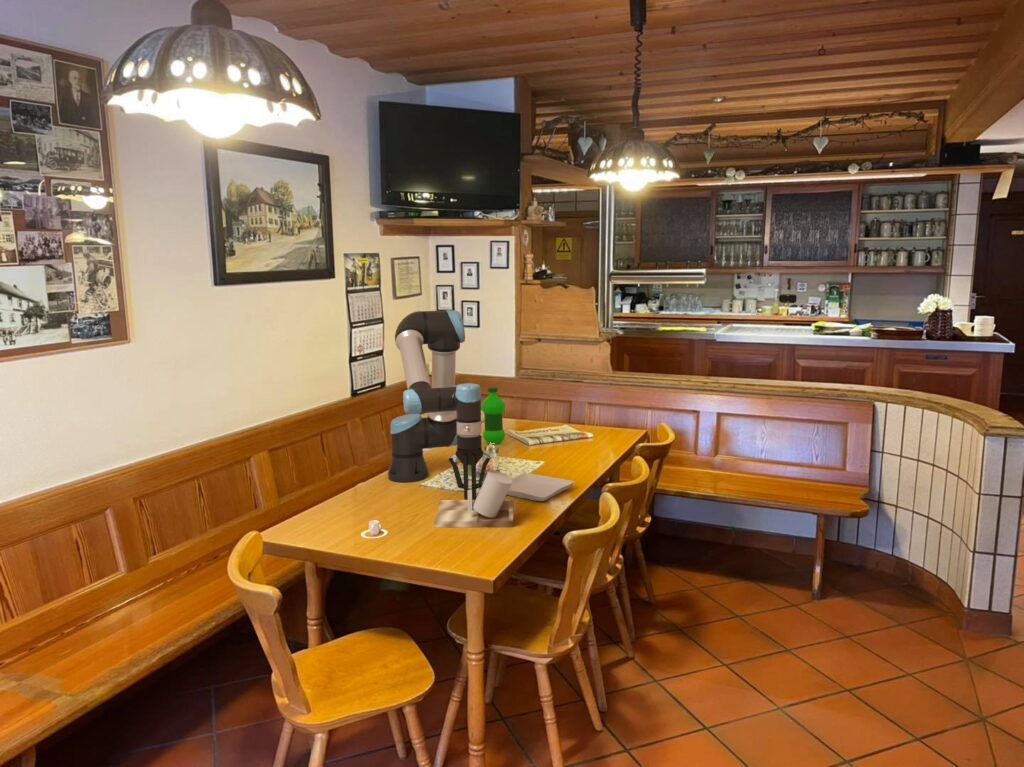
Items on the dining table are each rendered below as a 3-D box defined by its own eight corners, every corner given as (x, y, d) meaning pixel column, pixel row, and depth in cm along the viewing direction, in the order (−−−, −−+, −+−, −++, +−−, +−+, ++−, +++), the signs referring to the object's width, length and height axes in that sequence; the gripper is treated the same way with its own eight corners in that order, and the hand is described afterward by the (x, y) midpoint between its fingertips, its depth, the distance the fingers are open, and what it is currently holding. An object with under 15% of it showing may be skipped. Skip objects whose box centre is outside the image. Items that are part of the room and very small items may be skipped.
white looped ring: (371, 528, 227) (370, 515, 226) (394, 531, 224) (393, 518, 223) (355, 538, 219) (354, 524, 218) (378, 541, 216) (378, 527, 215)
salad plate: (576, 489, 260) (576, 480, 260) (544, 506, 243) (544, 496, 242) (525, 480, 272) (525, 471, 272) (492, 496, 255) (491, 486, 254)
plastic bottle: (505, 445, 323) (504, 389, 319) (481, 446, 324) (479, 389, 320) (506, 440, 333) (504, 385, 329) (483, 440, 334) (481, 386, 329)
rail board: (434, 527, 225) (433, 511, 224) (439, 515, 236) (438, 500, 235) (513, 527, 224) (512, 511, 223) (514, 514, 235) (514, 499, 234)
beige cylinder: (492, 506, 234) (507, 473, 231) (499, 519, 226) (515, 486, 224) (469, 500, 230) (484, 467, 228) (476, 513, 223) (492, 479, 220)
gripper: (446, 437, 221) (448, 513, 224) (489, 437, 221) (490, 513, 224) (449, 432, 229) (451, 505, 232) (491, 432, 228) (492, 506, 231)
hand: (470, 509), depth 228 cm, fingers closed
